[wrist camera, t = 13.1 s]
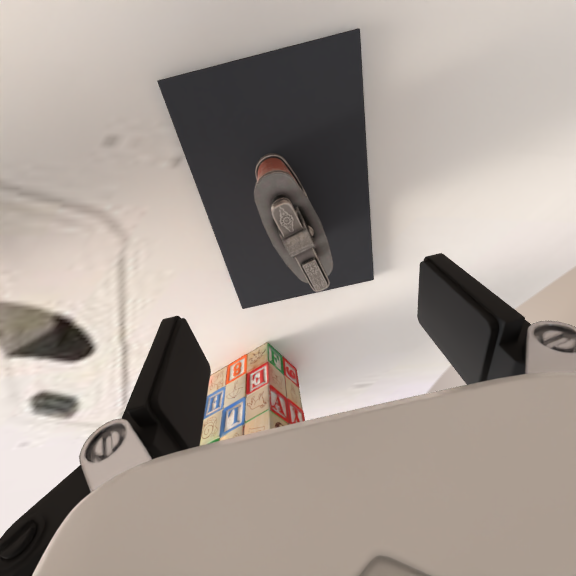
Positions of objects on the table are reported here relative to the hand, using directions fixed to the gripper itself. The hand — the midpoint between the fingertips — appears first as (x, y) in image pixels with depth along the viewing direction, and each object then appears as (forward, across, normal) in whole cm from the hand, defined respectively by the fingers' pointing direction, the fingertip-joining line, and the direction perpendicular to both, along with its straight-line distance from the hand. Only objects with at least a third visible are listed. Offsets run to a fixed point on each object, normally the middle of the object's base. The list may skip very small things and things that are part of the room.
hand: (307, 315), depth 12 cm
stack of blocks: (+17, +13, +23) cm, 31 cm away
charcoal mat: (+16, -1, 0) cm, 16 cm away
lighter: (+16, -1, 0) cm, 16 cm away
